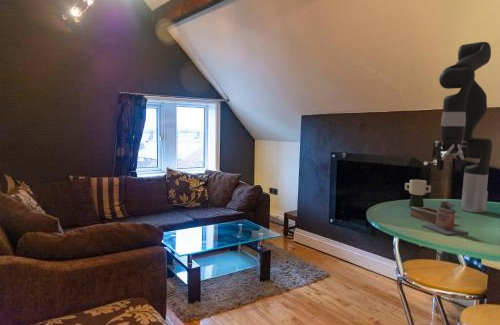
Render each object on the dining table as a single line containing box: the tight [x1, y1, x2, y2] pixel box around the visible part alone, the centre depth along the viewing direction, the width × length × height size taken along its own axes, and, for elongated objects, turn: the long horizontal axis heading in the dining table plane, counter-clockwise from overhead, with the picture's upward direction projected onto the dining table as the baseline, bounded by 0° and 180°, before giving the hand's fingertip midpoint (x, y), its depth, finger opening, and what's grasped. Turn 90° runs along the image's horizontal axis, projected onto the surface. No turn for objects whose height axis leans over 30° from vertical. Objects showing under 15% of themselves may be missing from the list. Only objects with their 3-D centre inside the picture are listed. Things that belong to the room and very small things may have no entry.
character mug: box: [404, 179, 432, 208], centre depth 161 cm, size 11×7×13 cm, turn 56°
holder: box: [410, 206, 437, 224], centre depth 141 cm, size 8×13×4 cm, turn 18°
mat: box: [421, 223, 469, 236], centre depth 127 cm, size 10×11×1 cm
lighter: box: [435, 200, 457, 232], centre depth 127 cm, size 8×3×10 cm, turn 7°
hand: (449, 170), depth 126 cm, fingers open, 8 cm apart
